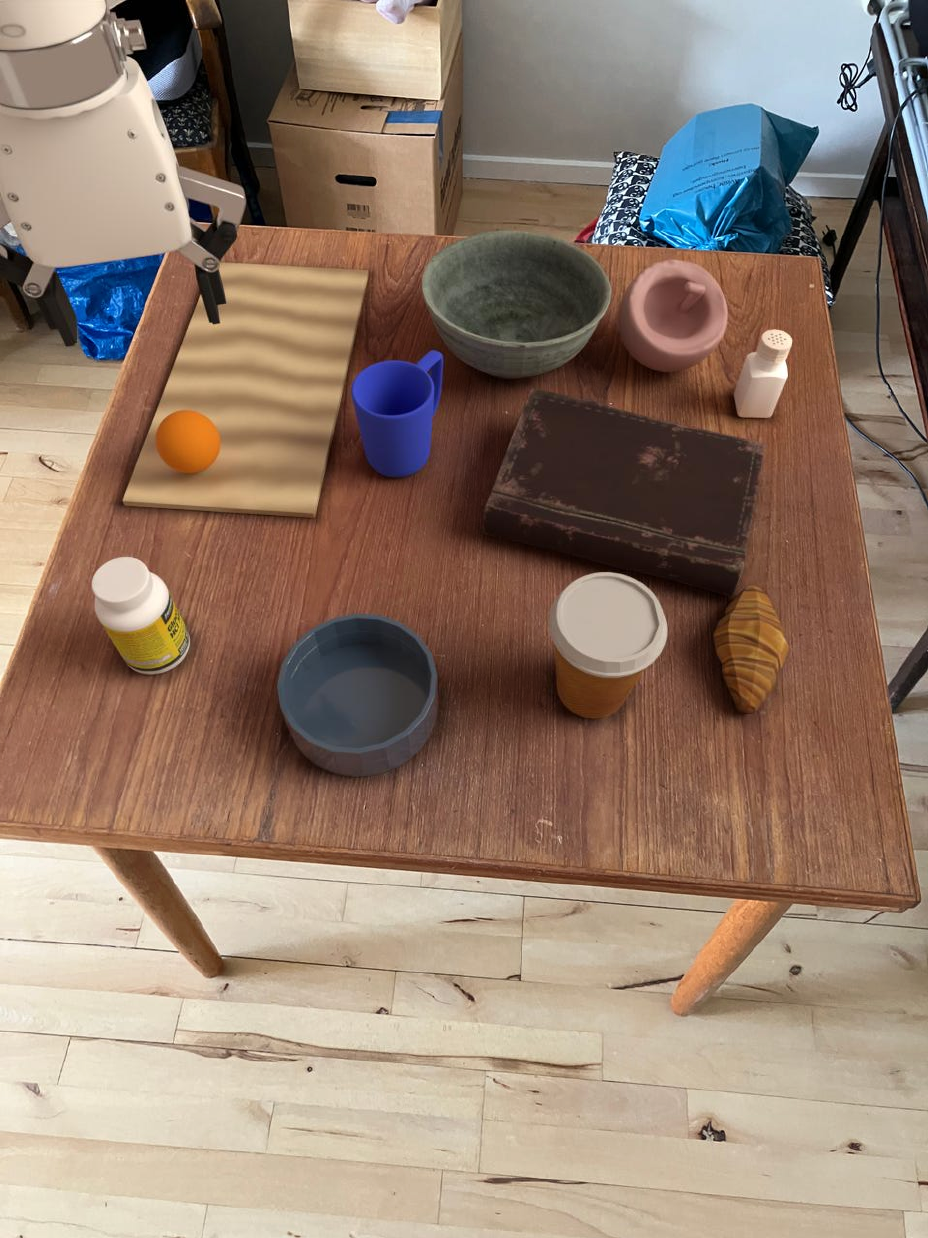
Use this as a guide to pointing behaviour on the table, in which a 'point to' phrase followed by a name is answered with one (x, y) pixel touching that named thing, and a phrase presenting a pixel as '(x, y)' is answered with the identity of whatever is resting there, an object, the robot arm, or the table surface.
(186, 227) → the robot arm
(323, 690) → the fruit bowl
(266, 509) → the serving board
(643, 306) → the mortar and pestle
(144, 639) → the pill bottle
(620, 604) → the disposable coffee cup
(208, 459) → the orange
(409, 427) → the mug
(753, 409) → the salt shaker
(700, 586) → the diary
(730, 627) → the croissant
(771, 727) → the table surface
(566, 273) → the bowl
